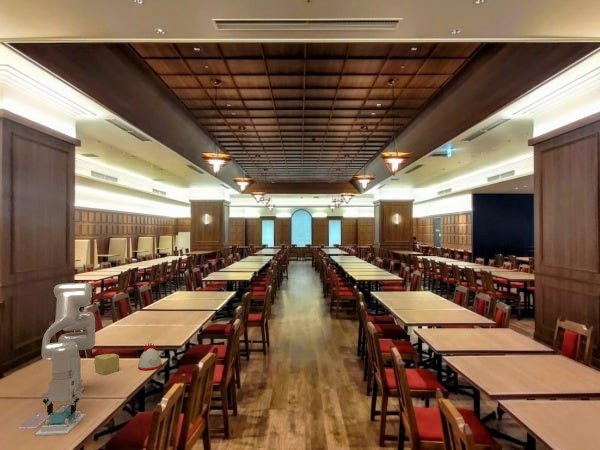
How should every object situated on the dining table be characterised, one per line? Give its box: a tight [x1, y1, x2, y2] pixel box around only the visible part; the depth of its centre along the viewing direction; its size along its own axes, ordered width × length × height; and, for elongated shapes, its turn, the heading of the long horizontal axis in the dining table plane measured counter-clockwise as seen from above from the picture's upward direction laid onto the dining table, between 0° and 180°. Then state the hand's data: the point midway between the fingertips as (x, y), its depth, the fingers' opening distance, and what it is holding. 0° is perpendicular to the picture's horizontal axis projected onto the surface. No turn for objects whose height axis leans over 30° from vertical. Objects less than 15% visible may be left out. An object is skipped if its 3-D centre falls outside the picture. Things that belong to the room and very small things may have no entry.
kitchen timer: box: [137, 343, 162, 372], centre depth 260 cm, size 14×14×15 cm
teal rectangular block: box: [49, 404, 73, 425], centre depth 182 cm, size 10×5×6 cm, turn 6°
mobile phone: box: [18, 412, 52, 430], centre depth 187 cm, size 8×1×15 cm
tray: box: [34, 409, 87, 437], centre depth 182 cm, size 18×13×4 cm
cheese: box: [94, 353, 120, 376], centre depth 252 cm, size 10×11×10 cm
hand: (61, 413), depth 182 cm, fingers open, 9 cm apart
